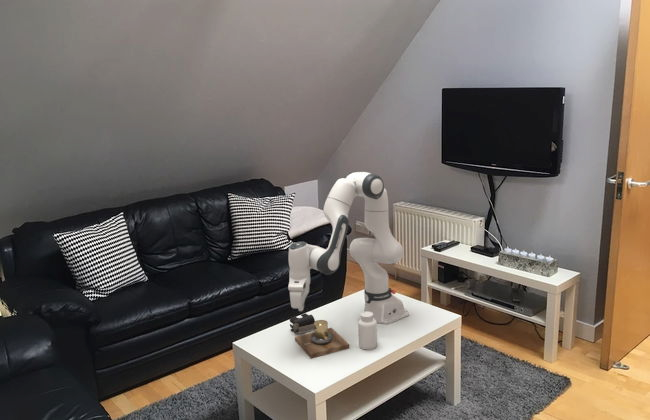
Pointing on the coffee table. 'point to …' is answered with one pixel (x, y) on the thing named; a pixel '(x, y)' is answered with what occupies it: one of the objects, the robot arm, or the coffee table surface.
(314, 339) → the post collar
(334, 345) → the base plate
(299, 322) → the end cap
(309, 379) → the coffee table surface
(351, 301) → the coffee table surface
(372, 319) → the pill bottle
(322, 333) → the crank handle
